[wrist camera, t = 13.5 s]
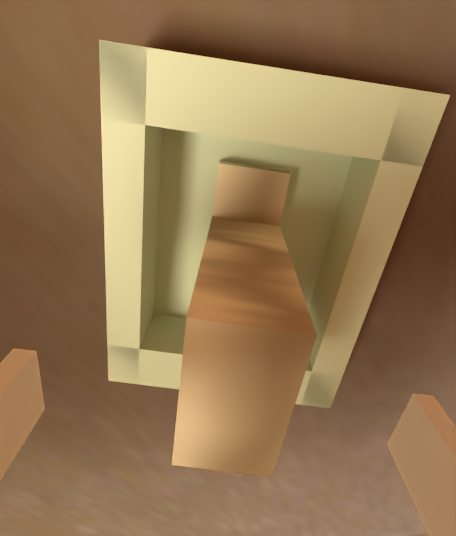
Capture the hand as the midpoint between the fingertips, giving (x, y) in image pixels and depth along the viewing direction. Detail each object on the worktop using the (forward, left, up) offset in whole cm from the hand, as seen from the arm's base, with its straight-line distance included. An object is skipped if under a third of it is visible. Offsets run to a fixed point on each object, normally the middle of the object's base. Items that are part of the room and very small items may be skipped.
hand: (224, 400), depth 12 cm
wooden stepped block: (0, +2, -12) cm, 12 cm away
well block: (0, +2, -13) cm, 13 cm away
